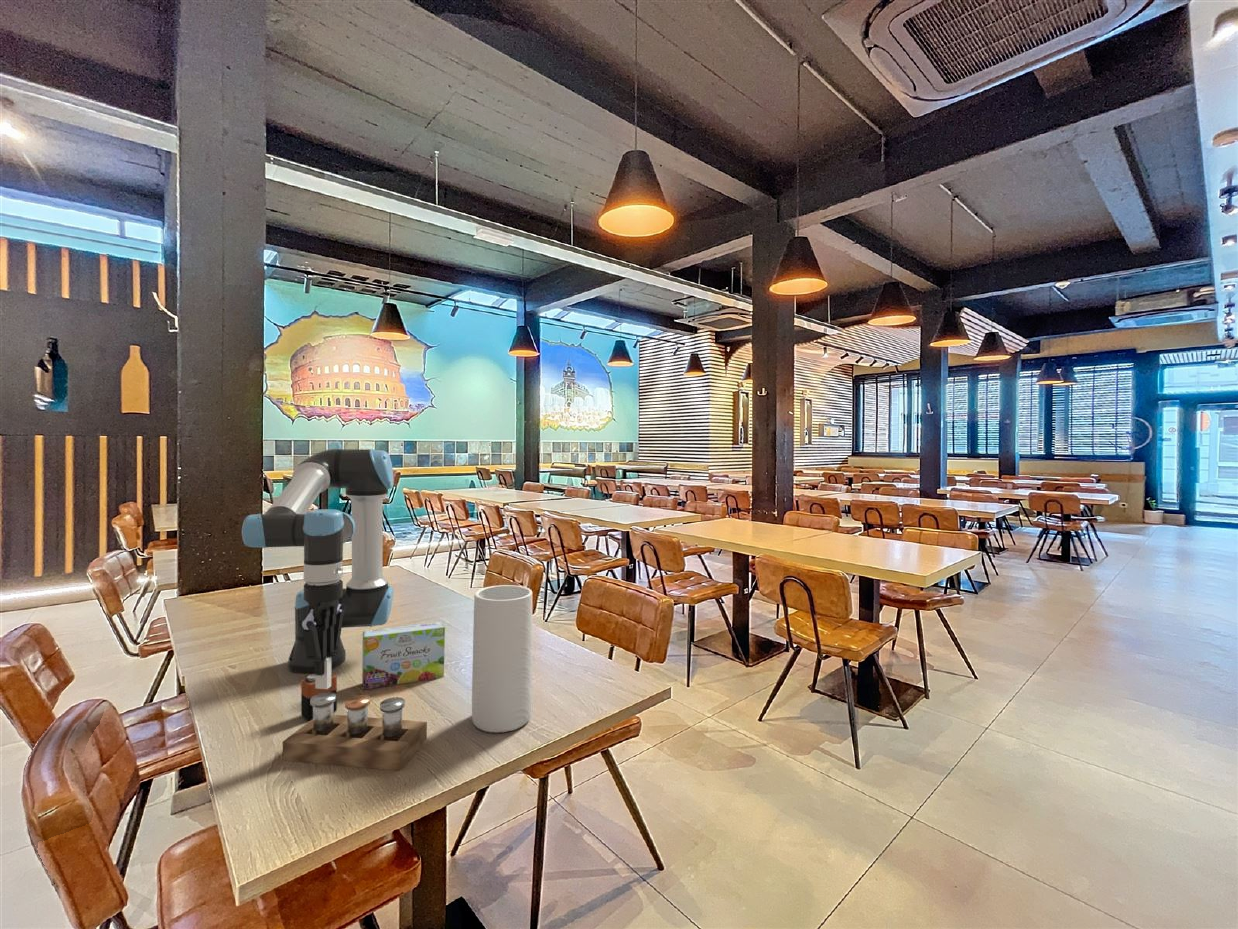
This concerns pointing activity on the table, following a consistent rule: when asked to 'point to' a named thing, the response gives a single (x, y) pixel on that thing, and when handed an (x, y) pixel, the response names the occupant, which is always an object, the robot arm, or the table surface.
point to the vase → (502, 658)
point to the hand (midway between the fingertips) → (323, 687)
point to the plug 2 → (392, 716)
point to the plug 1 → (323, 710)
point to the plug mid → (357, 713)
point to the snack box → (403, 654)
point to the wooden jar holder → (355, 744)
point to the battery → (310, 691)
